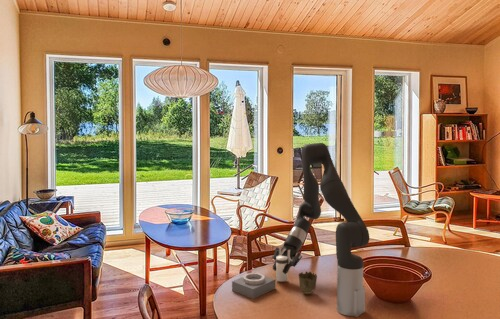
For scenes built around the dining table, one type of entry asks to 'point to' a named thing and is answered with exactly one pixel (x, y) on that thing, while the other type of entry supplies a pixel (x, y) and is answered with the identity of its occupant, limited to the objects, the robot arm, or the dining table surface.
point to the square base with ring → (253, 285)
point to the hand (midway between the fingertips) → (279, 271)
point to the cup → (307, 282)
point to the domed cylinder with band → (281, 268)
